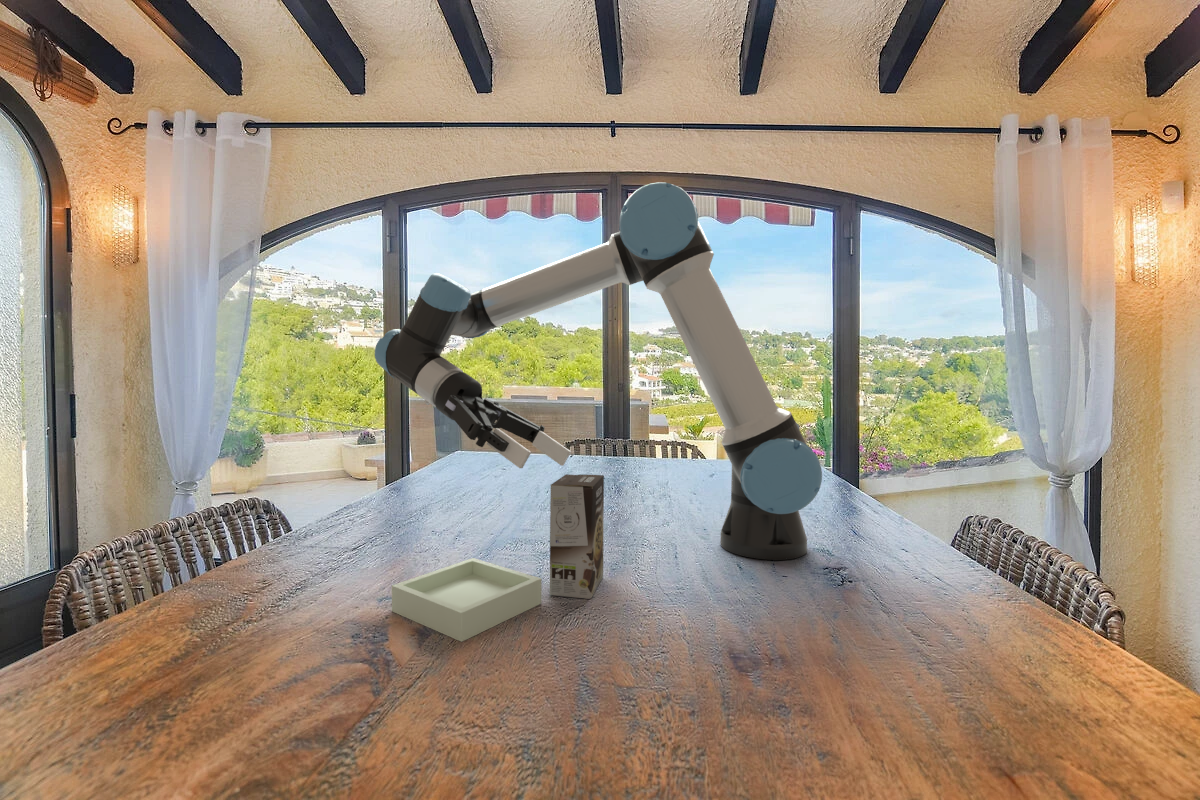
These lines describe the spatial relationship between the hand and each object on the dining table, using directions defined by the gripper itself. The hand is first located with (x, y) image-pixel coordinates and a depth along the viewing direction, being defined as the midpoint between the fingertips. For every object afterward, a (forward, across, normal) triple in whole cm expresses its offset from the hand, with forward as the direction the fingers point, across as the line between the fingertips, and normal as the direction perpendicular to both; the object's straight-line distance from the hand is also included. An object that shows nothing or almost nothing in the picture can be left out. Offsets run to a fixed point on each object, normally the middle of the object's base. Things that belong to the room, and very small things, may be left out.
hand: (547, 459), depth 88 cm
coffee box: (+14, -2, -14) cm, 20 cm away
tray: (+5, +11, -20) cm, 24 cm away
